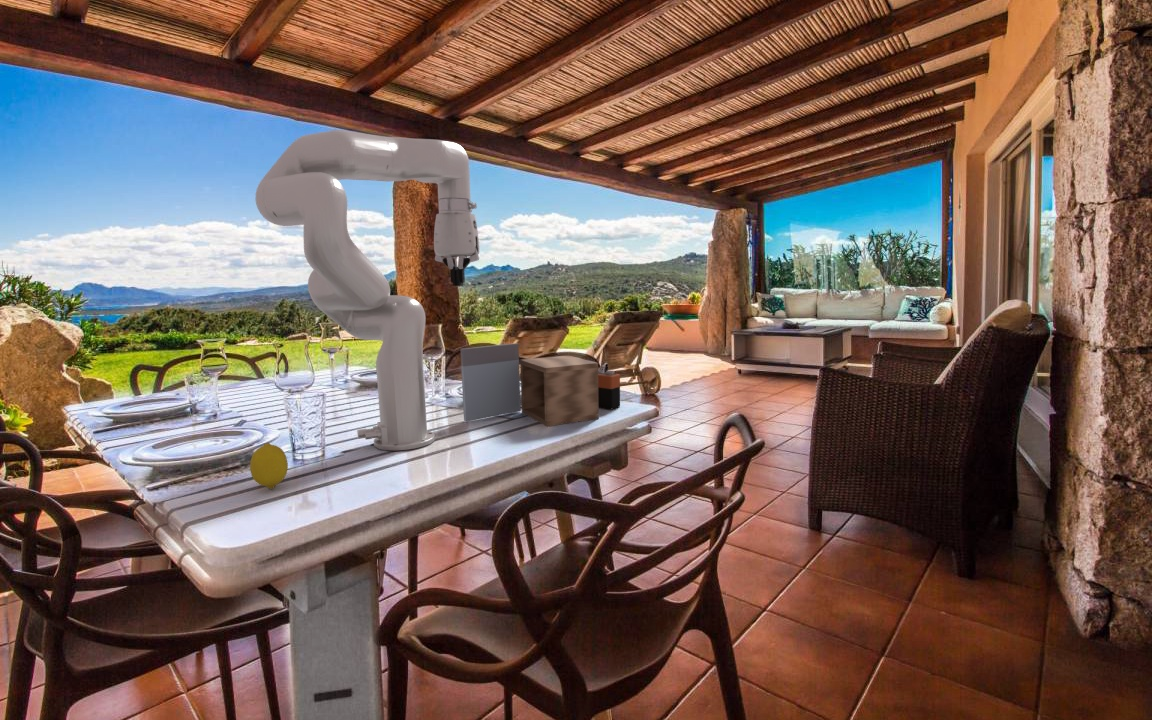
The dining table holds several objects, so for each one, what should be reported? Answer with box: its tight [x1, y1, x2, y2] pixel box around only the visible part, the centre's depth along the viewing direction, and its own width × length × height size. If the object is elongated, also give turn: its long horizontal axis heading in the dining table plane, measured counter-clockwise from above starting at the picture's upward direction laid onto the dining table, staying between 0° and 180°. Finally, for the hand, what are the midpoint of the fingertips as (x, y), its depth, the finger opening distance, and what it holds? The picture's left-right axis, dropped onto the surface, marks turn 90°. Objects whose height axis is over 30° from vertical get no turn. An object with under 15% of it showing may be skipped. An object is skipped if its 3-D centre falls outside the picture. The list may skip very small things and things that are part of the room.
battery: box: [598, 369, 621, 410], centre depth 148 cm, size 4×7×10 cm, turn 51°
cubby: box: [519, 355, 600, 427], centre depth 139 cm, size 14×16×14 cm
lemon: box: [249, 442, 289, 490], centre depth 93 cm, size 6×6×8 cm
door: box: [459, 342, 522, 422], centre depth 138 cm, size 1×16×18 cm, turn 129°
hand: (458, 285), depth 134 cm, fingers closed
